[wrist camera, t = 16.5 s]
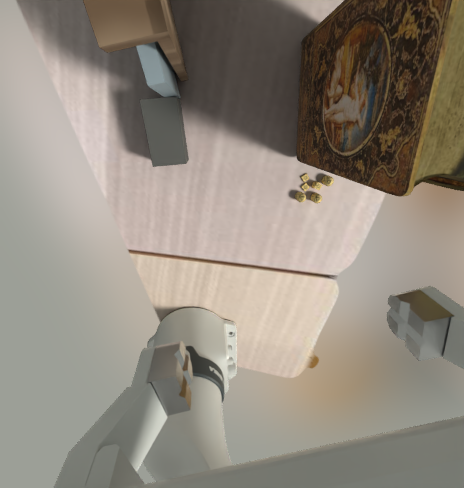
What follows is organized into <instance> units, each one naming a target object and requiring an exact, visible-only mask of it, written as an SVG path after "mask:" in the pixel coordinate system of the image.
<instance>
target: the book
mask: <svg viewBox="0 0 464 488" xmlns="http://www.w3.org/2000/svg"><path fill="white" fill-rule="evenodd" d="M296 156H297V159H298V161H300V162H302V163H304V164H307V165H310V166H313V167H316V168H318V169H321V170H324V171H327V172H330V173H332V174H335V175H338V176H341V177H344V178H346V179H349V180H352V181H355V182H357V183H360V184H363V185H366V186H369V187H371V188H374V189H377V190H380V191H383V192H385V193H389V194H392V195H395V196H408V195H409V194H410V193H411V192H412V190H413V188H414V187H415V186H416V185H418V184H419V183H421V182H426V183H430V184H434V185H438V186H442V187H446V188H450V189H455V190H460V191H464V0H344V1H343V2H342V3H341V4H340V5H339V6H338V7H337V8H336V9H335V10H334V11H333V12H332V13H331V14H329V15H328V16H327V17H326V18H325V19H324V20H323V21H322V22H321V23H320V24H319V25H318V26H317V27H316V28H314V29H313V30H312V31H311V32H310V33H309V34H308V35H307V36H306V37H305V38H304V39H303V41H302V43H301V62H300V84H299V105H298V126H297V152H296Z"/></svg>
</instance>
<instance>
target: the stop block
mask: <svg viewBox="0 0 464 488" xmlns="http://www.w3.org/2000/svg"><path fill="white" fill-rule="evenodd" d="M140 105H141V110H142V115H143V120H144V125H145V130H146V135H147V140H148V145H149V150H150V155H151V160H152V165H153V167H156V166H167V165H178V164H186V163H187V161H188V160H189V159H188V152H187V145H186V138H185V131H184V124H183V117H182V109H181V102H180V100H179V99H178V98H177V97H165V98H152V99H140Z"/></svg>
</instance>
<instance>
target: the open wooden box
mask: <svg viewBox="0 0 464 488" xmlns="http://www.w3.org/2000/svg"><path fill="white" fill-rule="evenodd" d="M83 2H84V5H85V8H86V10H87V13H88V16H89V19H90V22H91V25H92V28H93V31H94V34H95V37H96V39H97V42H98V45H99V47H100V48H101V49H103V50H104V51H105V52H107V53H109V52H113V51H117V50H122V49H126V48H130V47H135V46H139V45H143V44H148V43H152V42H156V41H158V43H159V45H160V46H161V48H162V50H163V51H164V53H165V55H166V57H167V58H168V60H169V62H170V63H171V65H172V67H173V68H174V70H175V72H176V73H177V75H178V77H179V78H180V80H181V81H185V80H188V76H187V72H186V68H185V63H184V59H183V55H182V51H181V46H180V42H179V38H178V34H177V29H176V25H175V21H174V17H173V12H172V8H171V4H170V0H83Z"/></svg>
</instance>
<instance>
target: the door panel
mask: <svg viewBox="0 0 464 488" xmlns="http://www.w3.org/2000/svg"><path fill="white" fill-rule="evenodd" d="M136 47H137V51H138V54H139V58H140V61H141V64H142V68H143V71H144V75H145V78H146V81H147V85H148V86H149V87H150V88H151V89H153V90H154V91H156V92H157V93H159V94H160V95H162V96H163V97H177V98H178V99H180V98H181V97H180V93H179V89H178V85H177V81H176V77H175V73H174V69H173V67H172V65H171V63H170V62H169V60H168V58H167V57H166V55H165V53H164V51H163V50H162V48H161V46H160V45H159V43H158V41H156V42H152V43H148V44H143V45H139V46H136Z"/></svg>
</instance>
